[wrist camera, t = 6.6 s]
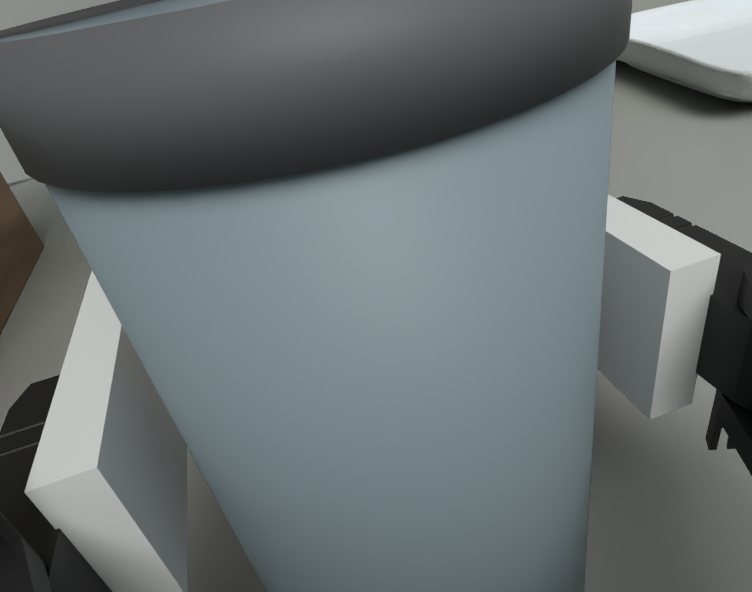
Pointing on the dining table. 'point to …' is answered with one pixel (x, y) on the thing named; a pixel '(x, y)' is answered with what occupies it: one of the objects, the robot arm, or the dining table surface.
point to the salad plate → (696, 46)
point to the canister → (350, 263)
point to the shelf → (14, 250)
